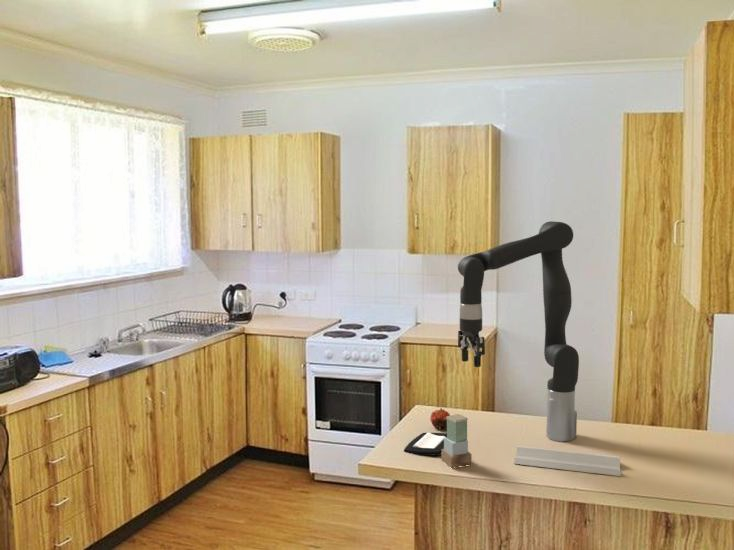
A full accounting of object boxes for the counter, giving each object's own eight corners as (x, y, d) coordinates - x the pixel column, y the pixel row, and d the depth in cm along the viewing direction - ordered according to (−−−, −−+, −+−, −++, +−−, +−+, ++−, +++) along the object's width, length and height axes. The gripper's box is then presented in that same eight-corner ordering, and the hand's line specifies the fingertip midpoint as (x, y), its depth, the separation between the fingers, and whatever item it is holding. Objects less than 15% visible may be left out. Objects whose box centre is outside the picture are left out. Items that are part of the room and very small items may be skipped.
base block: (460, 458, 211) (461, 446, 211) (471, 466, 204) (471, 454, 204) (441, 461, 209) (441, 449, 208) (451, 469, 202) (451, 457, 202)
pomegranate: (450, 437, 235) (455, 414, 242) (445, 425, 231) (450, 402, 238) (431, 436, 238) (435, 414, 245) (425, 425, 234) (430, 402, 241)
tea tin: (458, 435, 209) (458, 413, 208) (467, 439, 205) (467, 417, 204) (446, 438, 207) (446, 416, 206) (455, 442, 203) (455, 420, 202)
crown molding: (514, 466, 205) (514, 455, 205) (518, 452, 216) (518, 442, 216) (620, 478, 195) (621, 466, 194) (619, 463, 206) (619, 452, 206)
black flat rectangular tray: (421, 429, 234) (458, 430, 227) (422, 436, 234) (459, 439, 228) (399, 447, 216) (439, 450, 210) (400, 456, 216) (440, 459, 210)
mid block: (459, 447, 210) (459, 435, 209) (467, 453, 205) (467, 440, 204) (443, 449, 208) (443, 437, 207) (452, 456, 203) (452, 443, 202)
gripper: (491, 319, 213) (491, 367, 215) (470, 312, 226) (470, 358, 228) (471, 320, 210) (471, 370, 212) (451, 314, 224) (451, 360, 225)
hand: (471, 363), depth 220 cm, fingers open, 8 cm apart
